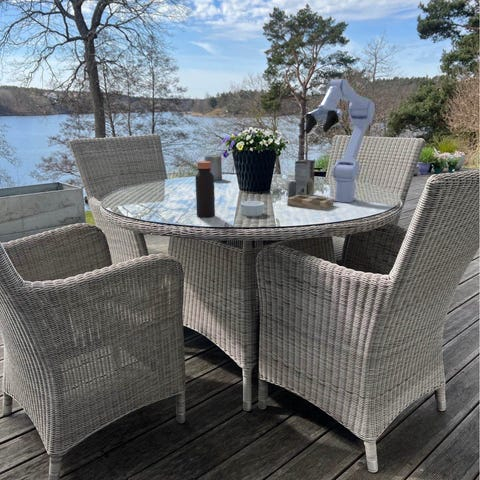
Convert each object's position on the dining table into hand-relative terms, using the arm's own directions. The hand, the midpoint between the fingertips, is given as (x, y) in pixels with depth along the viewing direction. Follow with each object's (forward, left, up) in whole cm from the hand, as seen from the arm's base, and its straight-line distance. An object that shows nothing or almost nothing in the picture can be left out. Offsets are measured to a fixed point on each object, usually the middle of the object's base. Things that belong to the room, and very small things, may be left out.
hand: (315, 131), depth 154 cm
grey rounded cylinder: (-18, -18, -30) cm, 39 cm away
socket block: (-11, -6, -30) cm, 33 cm away
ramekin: (+15, -18, -31) cm, 39 cm away
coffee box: (-30, -18, -31) cm, 46 cm away
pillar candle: (-47, -84, -31) cm, 101 cm away
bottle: (+27, -31, -31) cm, 51 cm away
